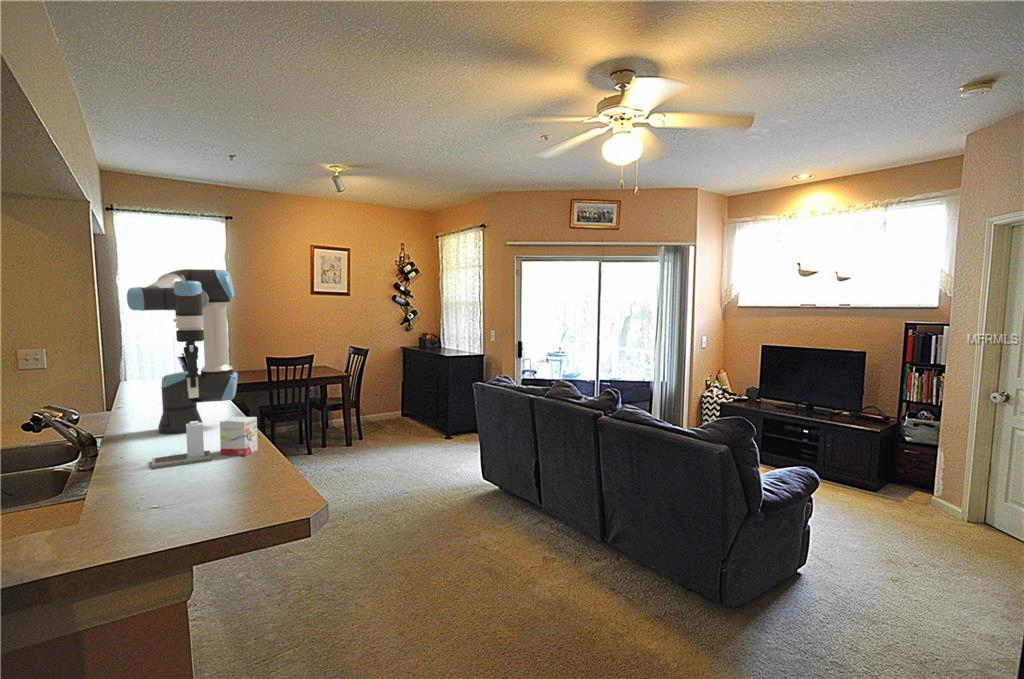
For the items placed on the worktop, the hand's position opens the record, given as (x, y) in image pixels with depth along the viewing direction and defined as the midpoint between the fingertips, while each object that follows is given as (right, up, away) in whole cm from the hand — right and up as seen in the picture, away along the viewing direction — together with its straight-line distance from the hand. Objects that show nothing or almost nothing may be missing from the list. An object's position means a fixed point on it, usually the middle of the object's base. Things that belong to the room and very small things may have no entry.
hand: (193, 394), depth 167 cm
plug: (+1, -21, 0) cm, 21 cm away
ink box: (+11, -21, +7) cm, 25 cm away
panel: (-2, -21, -2) cm, 21 cm away
